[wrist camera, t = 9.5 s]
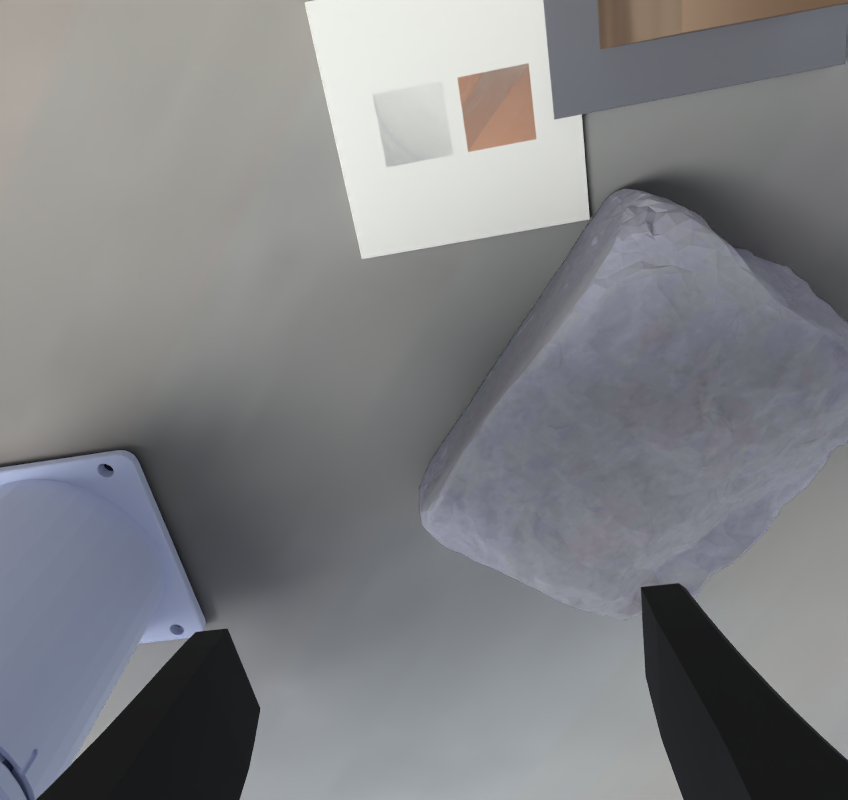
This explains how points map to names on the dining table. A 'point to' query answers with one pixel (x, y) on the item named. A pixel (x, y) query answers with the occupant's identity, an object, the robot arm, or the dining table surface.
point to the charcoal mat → (680, 56)
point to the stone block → (643, 414)
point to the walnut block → (687, 16)
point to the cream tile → (446, 120)
